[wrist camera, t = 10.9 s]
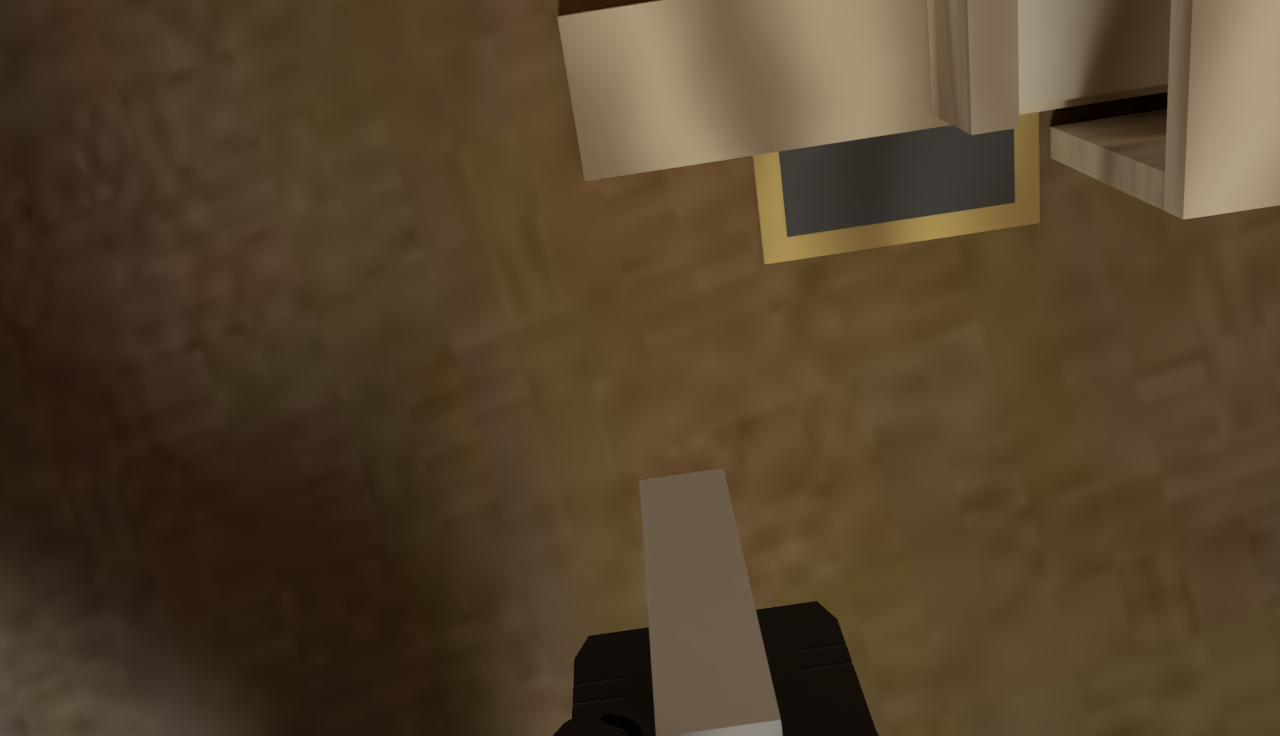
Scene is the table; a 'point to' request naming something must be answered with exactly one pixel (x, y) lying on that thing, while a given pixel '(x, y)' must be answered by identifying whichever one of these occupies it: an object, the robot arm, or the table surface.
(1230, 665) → the table surface
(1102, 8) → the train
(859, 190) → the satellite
